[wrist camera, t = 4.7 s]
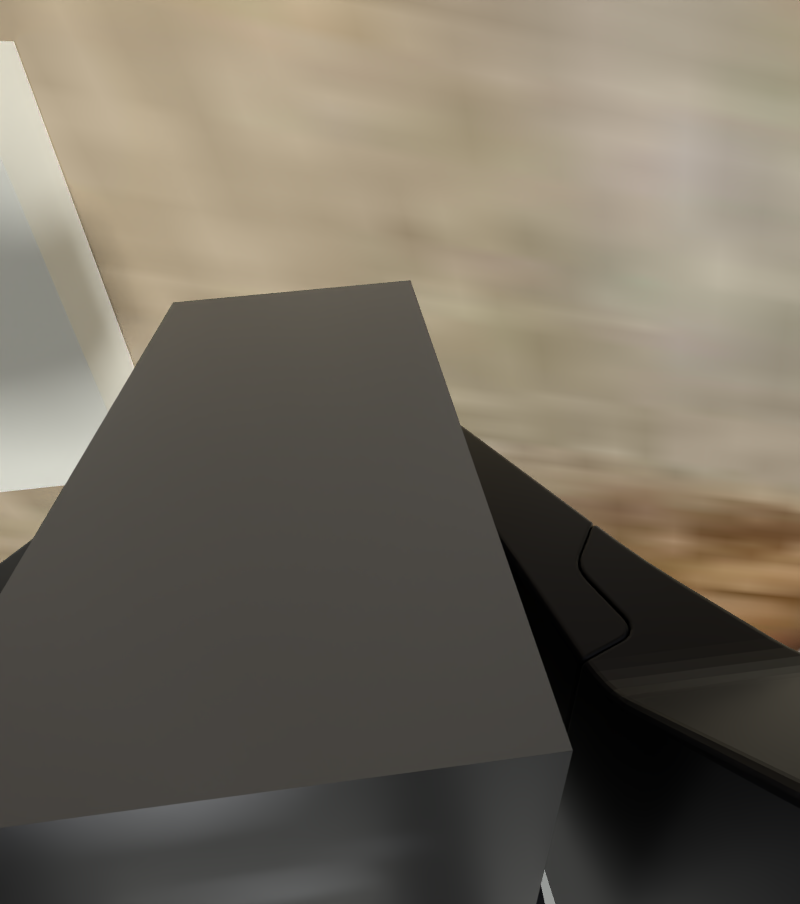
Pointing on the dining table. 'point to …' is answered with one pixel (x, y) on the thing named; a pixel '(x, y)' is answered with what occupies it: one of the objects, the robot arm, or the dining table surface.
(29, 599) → the plug
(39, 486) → the socket plate
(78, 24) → the dining table surface
